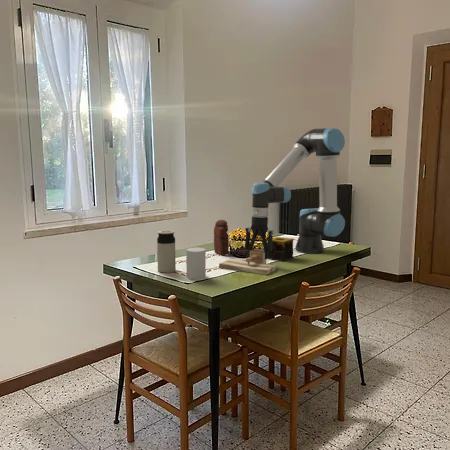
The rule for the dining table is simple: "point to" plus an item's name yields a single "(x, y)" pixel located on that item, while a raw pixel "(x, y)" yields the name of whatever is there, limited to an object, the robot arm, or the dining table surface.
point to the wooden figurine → (221, 238)
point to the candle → (281, 249)
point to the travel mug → (166, 251)
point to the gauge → (255, 256)
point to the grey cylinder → (196, 263)
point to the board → (248, 266)
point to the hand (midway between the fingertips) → (257, 264)
